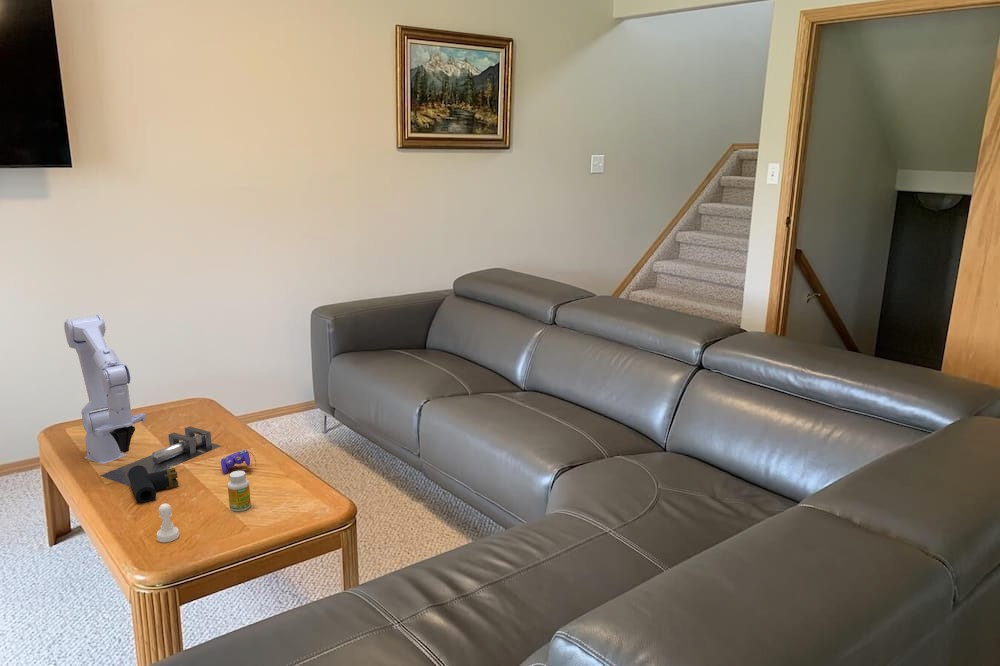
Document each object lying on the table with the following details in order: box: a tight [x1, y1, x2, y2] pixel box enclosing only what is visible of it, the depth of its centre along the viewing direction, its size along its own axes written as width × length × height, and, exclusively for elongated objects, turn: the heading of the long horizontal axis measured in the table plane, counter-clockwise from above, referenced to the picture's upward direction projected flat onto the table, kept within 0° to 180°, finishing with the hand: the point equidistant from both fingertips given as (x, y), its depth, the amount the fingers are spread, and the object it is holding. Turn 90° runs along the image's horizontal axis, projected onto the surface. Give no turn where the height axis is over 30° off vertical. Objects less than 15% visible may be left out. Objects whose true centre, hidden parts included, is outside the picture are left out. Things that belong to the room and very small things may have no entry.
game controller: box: [220, 449, 257, 479], centre depth 221 cm, size 10×8×10 cm
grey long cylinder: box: [151, 434, 202, 464], centre depth 232 cm, size 18×4×4 cm, turn 150°
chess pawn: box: [156, 503, 180, 543], centre depth 183 cm, size 5×5×9 cm
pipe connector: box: [128, 465, 179, 504], centre depth 208 cm, size 12×5×15 cm
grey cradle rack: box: [99, 426, 222, 487], centre depth 227 cm, size 13×33×6 cm, turn 151°
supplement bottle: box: [227, 470, 252, 512], centre depth 198 cm, size 5×5×10 cm
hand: (124, 451), depth 215 cm, fingers closed
